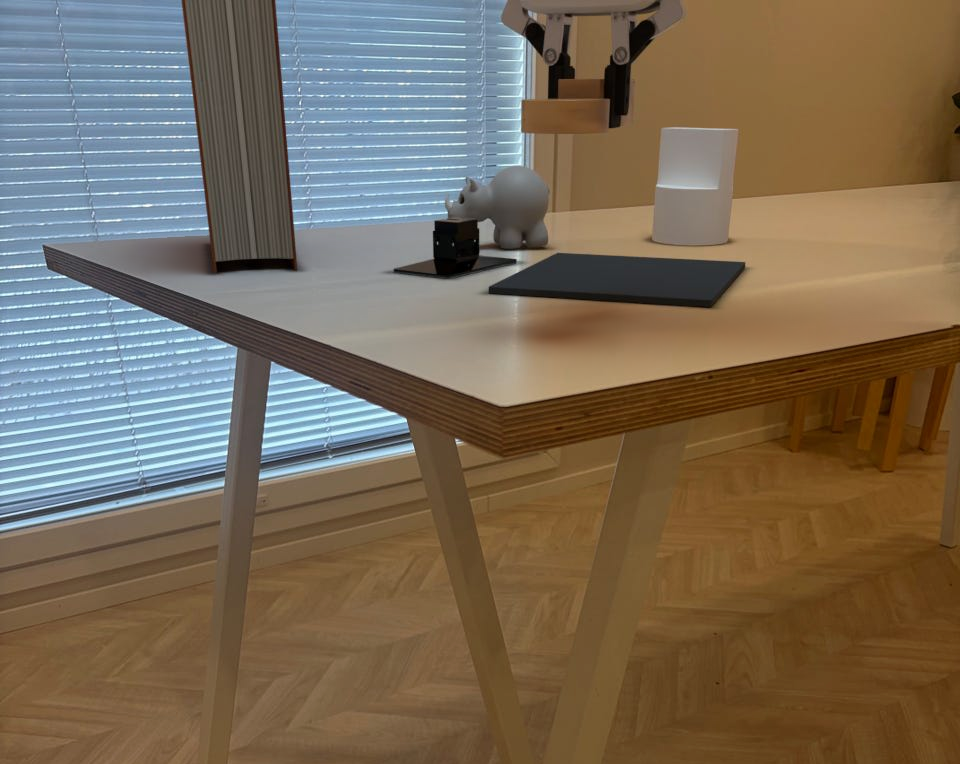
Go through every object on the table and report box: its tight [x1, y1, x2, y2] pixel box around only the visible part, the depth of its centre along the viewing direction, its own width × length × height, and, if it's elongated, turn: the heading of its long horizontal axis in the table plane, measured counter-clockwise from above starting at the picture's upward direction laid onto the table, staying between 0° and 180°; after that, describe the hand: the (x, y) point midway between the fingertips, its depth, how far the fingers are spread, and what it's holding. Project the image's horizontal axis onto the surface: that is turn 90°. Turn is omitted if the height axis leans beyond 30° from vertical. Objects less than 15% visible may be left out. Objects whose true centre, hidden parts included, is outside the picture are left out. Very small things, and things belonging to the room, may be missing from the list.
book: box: [181, 0, 298, 275], centre depth 106 cm, size 23×8×30 cm, turn 14°
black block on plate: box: [393, 217, 518, 279], centre depth 105 cm, size 12×7×5 cm, turn 146°
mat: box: [488, 252, 746, 308], centre depth 99 cm, size 20×22×1 cm
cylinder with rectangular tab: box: [651, 126, 739, 246], centre depth 120 cm, size 9×9×12 cm
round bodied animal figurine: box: [444, 165, 550, 250], centre depth 116 cm, size 7×12×8 cm, turn 100°
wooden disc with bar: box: [520, 78, 636, 135], centre depth 75 cm, size 18×6×3 cm, turn 161°
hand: (587, 124), depth 76 cm, fingers closed on wooden disc with bar, 3 cm apart
